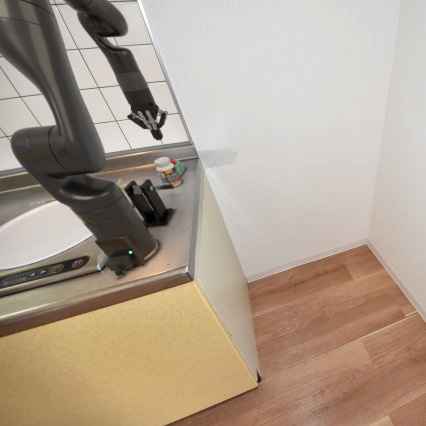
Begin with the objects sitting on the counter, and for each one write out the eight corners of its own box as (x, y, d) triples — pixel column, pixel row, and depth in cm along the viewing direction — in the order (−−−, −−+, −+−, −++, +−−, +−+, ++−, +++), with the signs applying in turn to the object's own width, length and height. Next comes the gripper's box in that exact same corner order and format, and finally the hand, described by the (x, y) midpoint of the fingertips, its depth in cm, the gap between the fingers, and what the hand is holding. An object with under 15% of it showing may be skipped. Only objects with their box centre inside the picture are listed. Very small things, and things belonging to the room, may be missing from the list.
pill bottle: (175, 188, 87) (163, 164, 80) (161, 187, 88) (148, 163, 82) (185, 180, 91) (174, 156, 85) (172, 179, 92) (160, 155, 86)
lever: (158, 191, 80) (157, 184, 80) (174, 189, 80) (172, 182, 80) (128, 195, 65) (126, 186, 65) (147, 193, 66) (145, 184, 65)
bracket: (151, 213, 76) (129, 178, 68) (174, 210, 77) (155, 176, 68) (141, 228, 71) (117, 192, 62) (166, 225, 71) (145, 189, 63)
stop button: (174, 166, 93) (172, 162, 92) (166, 167, 92) (164, 163, 91) (177, 162, 95) (175, 158, 94) (168, 163, 95) (166, 159, 94)
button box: (180, 176, 94) (176, 167, 91) (164, 177, 93) (159, 168, 91) (185, 167, 99) (182, 159, 97) (170, 169, 99) (166, 160, 96)
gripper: (106, 91, 73) (136, 145, 84) (151, 88, 74) (175, 141, 85) (118, 86, 79) (144, 137, 90) (160, 83, 80) (181, 134, 91)
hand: (159, 139), depth 87 cm, fingers closed
